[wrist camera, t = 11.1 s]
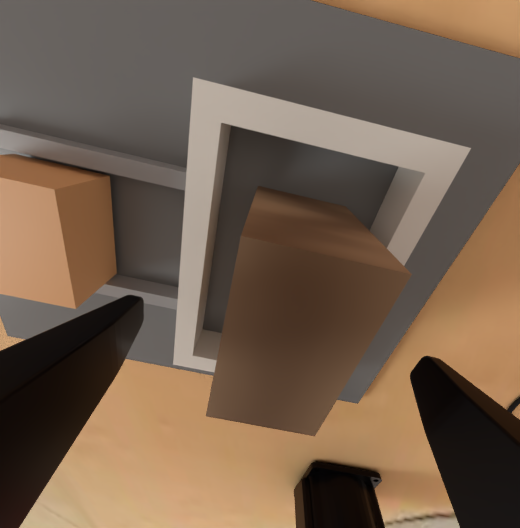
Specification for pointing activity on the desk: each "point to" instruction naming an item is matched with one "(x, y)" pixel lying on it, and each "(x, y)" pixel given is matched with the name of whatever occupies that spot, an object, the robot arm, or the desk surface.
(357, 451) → the desk surface
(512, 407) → the multimeter
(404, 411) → the desk surface
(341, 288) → the block
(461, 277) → the desk surface
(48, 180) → the block
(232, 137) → the grey base board
